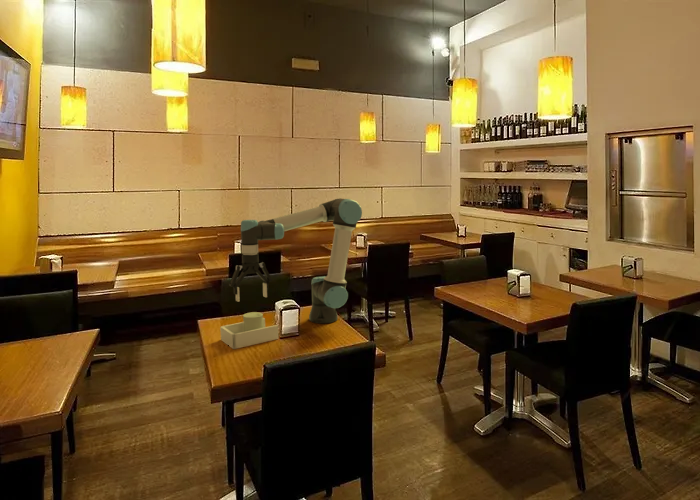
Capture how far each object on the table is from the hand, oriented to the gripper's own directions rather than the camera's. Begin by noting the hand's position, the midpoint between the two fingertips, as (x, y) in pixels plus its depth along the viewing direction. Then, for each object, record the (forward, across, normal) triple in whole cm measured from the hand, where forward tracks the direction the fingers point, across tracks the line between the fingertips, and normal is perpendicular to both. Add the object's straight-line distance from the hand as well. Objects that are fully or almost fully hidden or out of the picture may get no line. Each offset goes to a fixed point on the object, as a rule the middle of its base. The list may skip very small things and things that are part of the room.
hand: (251, 298), depth 215 cm
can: (+19, 0, 0) cm, 19 cm away
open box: (+19, +1, 0) cm, 19 cm away
